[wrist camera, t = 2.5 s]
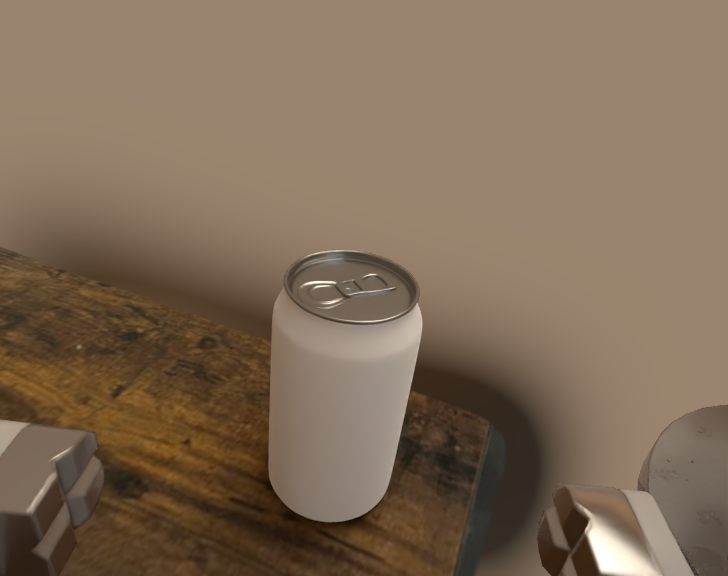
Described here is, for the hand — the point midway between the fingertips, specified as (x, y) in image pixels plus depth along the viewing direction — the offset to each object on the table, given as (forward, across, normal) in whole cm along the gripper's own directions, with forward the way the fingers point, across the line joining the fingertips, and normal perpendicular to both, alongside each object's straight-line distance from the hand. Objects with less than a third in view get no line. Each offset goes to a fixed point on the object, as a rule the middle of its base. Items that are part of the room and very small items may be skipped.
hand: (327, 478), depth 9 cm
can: (+12, 0, +15) cm, 20 cm away
